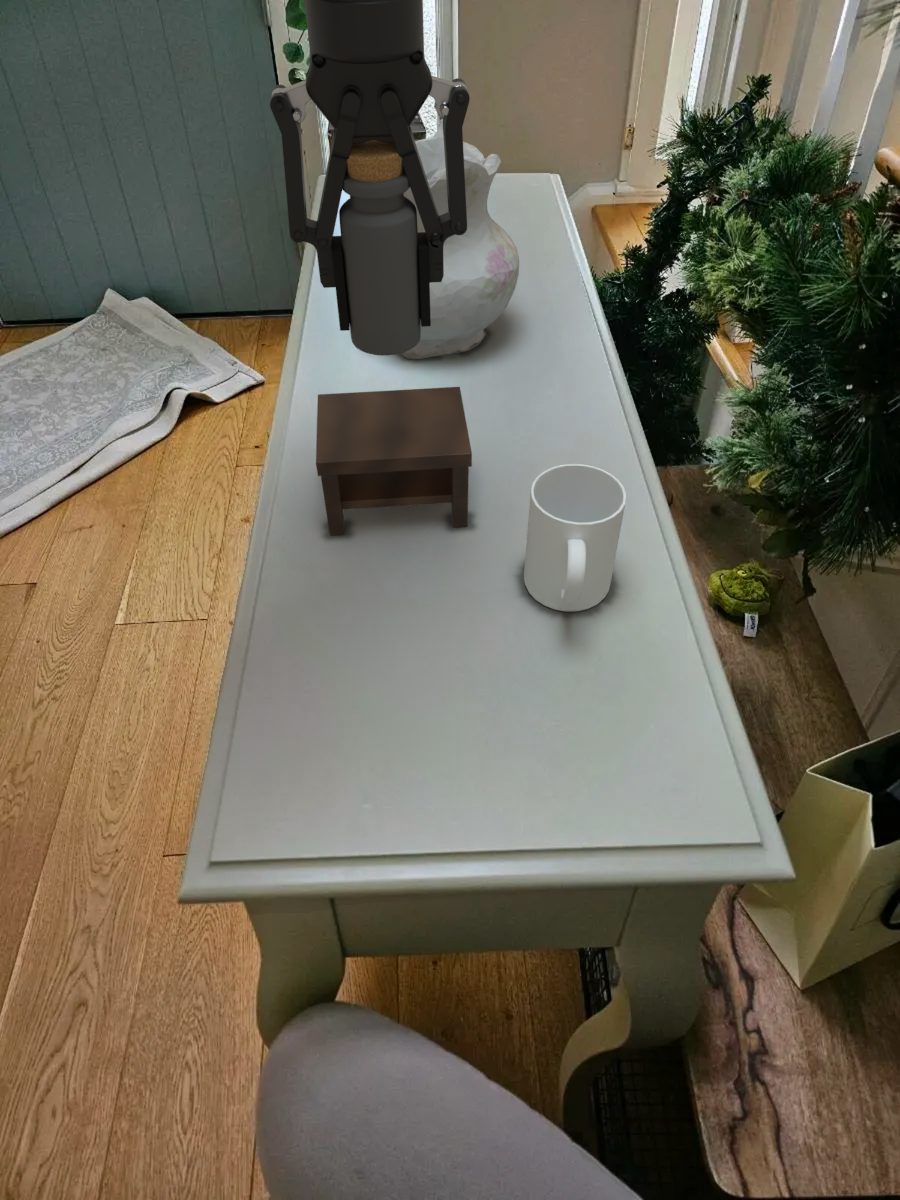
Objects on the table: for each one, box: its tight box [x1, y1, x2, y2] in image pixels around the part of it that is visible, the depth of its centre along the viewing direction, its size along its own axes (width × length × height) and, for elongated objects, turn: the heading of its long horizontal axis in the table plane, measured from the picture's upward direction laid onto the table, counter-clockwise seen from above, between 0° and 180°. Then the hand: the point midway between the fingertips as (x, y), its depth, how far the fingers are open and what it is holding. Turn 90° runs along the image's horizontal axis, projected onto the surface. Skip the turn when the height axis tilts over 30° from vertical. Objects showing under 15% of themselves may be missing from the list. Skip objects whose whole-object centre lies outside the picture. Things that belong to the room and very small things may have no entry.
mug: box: [523, 463, 627, 612], centre depth 73 cm, size 12×8×10 cm, turn 174°
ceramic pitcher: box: [400, 103, 520, 360], centre depth 101 cm, size 22×20×25 cm
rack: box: [315, 386, 473, 536], centre depth 84 cm, size 14×11×9 cm
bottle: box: [338, 140, 421, 357], centre depth 66 cm, size 6×6×15 cm
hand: (384, 319), depth 70 cm, fingers closed on bottle, 6 cm apart
